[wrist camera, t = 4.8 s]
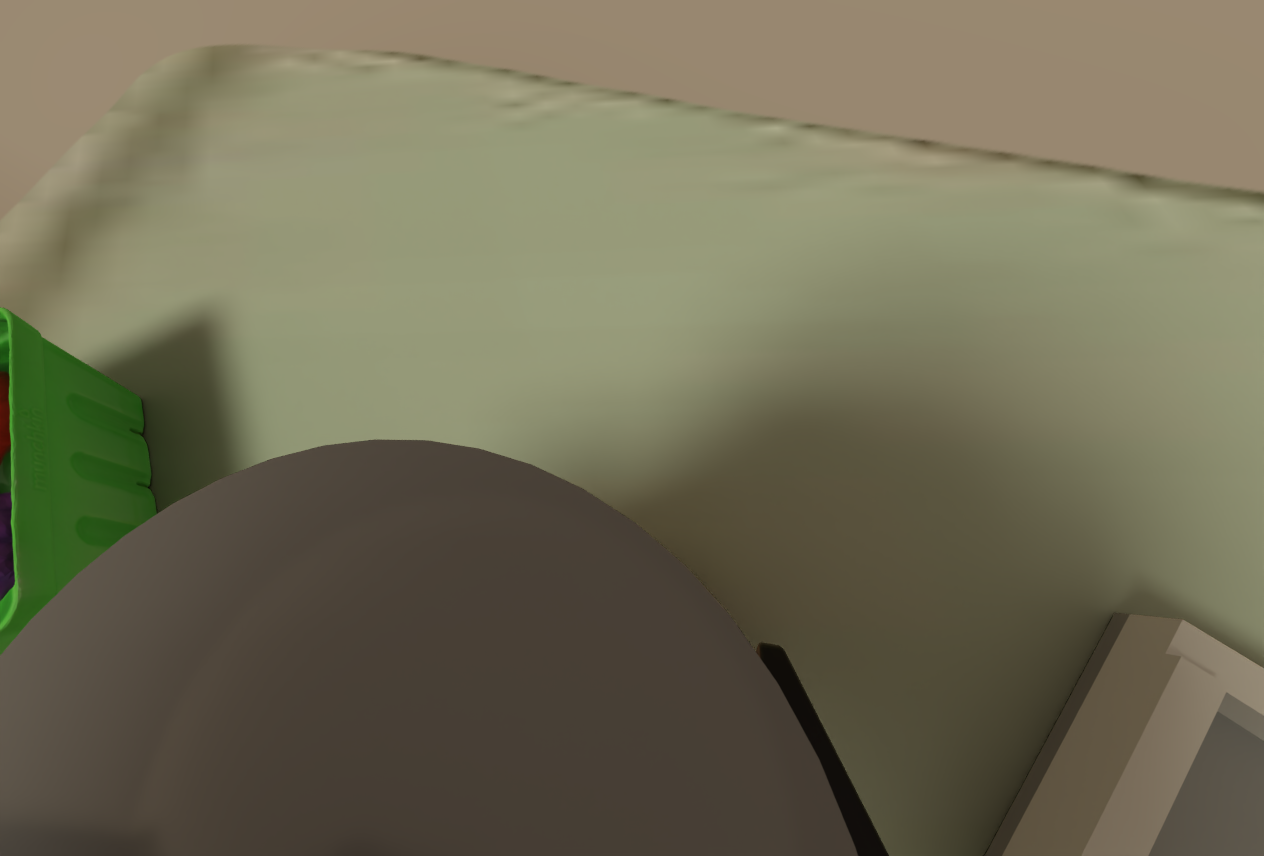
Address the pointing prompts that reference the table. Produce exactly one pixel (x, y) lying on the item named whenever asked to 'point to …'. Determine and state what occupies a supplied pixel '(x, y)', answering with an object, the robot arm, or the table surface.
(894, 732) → the table surface
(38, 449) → the fruit basket
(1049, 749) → the lane
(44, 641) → the jar
